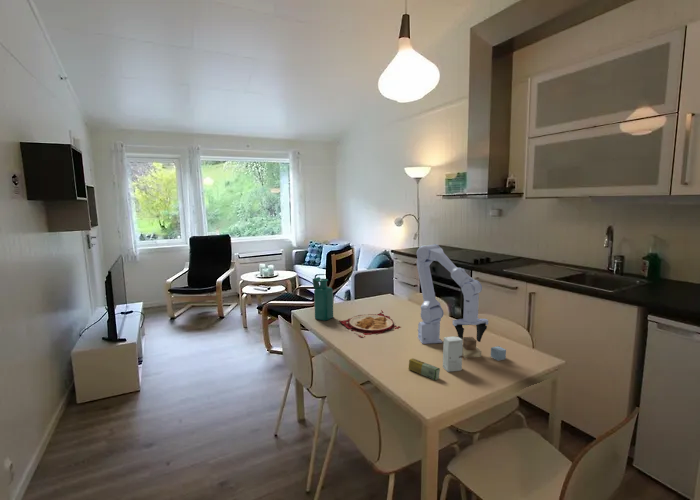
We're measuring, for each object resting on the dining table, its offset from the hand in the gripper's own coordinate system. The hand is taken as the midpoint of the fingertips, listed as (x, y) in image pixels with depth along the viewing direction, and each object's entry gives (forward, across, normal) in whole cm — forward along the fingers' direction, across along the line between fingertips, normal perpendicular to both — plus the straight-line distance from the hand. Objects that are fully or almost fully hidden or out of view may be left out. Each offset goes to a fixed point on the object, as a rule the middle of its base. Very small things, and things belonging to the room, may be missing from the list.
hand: (469, 341), depth 149 cm
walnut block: (+3, 0, 0) cm, 3 cm away
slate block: (+6, +10, -5) cm, 13 cm away
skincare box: (+6, -12, -12) cm, 18 cm away
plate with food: (+6, -35, +39) cm, 53 cm away
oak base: (+6, 0, 0) cm, 6 cm away
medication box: (+6, -24, -15) cm, 29 cm away
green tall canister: (+6, -60, +54) cm, 81 cm away
